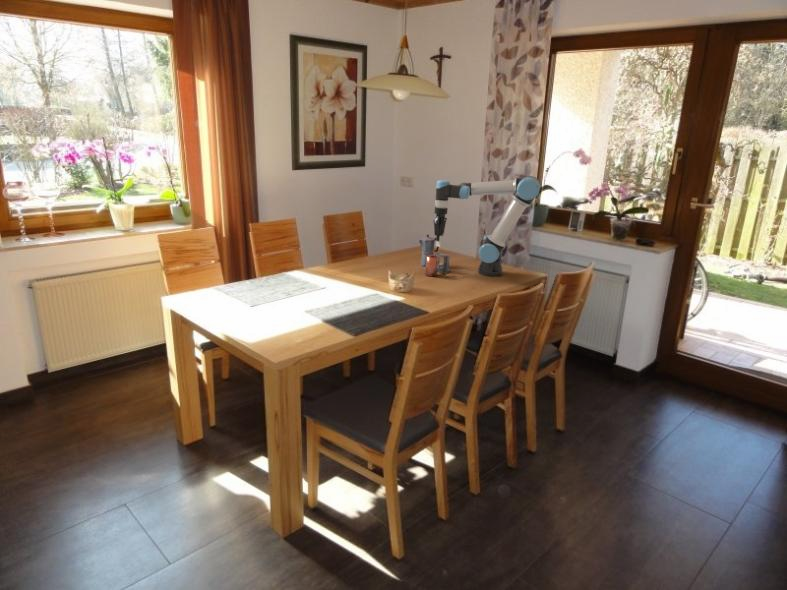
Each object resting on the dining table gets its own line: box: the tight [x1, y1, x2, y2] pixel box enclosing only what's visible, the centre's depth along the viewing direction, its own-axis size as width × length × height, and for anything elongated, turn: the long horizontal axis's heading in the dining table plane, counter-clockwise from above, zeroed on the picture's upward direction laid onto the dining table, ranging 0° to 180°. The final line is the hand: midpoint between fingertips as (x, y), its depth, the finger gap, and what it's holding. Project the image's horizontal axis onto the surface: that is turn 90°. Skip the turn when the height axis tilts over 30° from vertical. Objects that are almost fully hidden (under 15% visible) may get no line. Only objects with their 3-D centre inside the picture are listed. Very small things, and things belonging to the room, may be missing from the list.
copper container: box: [425, 253, 444, 277], centre depth 335 cm, size 7×21×12 cm, turn 148°
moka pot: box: [417, 234, 440, 268], centre depth 351 cm, size 10×15×20 cm, turn 115°
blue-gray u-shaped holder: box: [434, 252, 451, 274], centre depth 340 cm, size 10×6×11 cm, turn 58°
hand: (438, 246), depth 333 cm, fingers closed
